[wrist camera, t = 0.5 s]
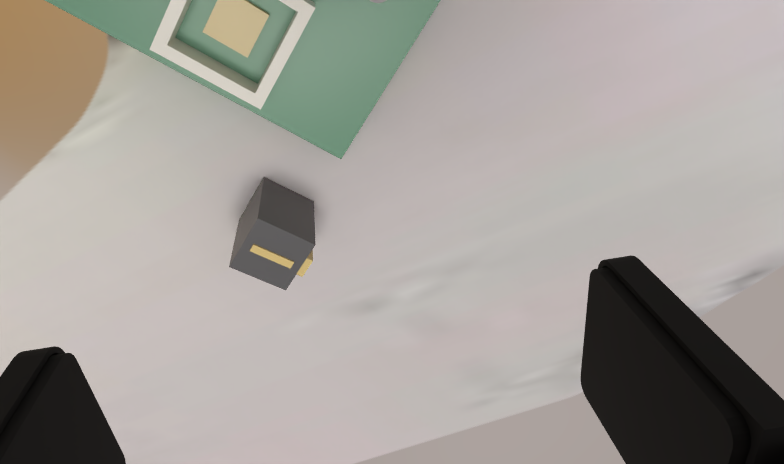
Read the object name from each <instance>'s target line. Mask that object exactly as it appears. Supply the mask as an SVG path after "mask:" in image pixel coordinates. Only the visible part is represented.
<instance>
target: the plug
mask: <svg viewBox="0 0 784 464" xmlns="http://www.w3.org/2000/svg"><path fill="white" fill-rule="evenodd" d="M314 246H315V222H314V201H312V200H310V199H308V198H306V197H304V196H302V195H300V194H298V193H296V192H294V191H292V190H290V189H288V188H286V187H283V186H281V185H279V184H277V183H275V182H273V181H271V180H269V179H267V178H265V177H264V178H263V179H262V181H261V183H260V185H259V186H258V188H257V190H256V191H255V193H254V195H253V197H252V198H251V200H250V202H249V204H248V205H247V207H246V209H245V211H244V212H243V214H242V216H241V218H240V219H239V223H238V227H237V232H236V237H235V242H234V246H233V251H232V256H231V261H230V265H229V267H231V268H233V269H236V270H238V271H240V272H243V273H245V274H248V275H250V276H253V277H255V278H257V279H260V280H262V281H265V282H267V283H269V284H272V285H274V286H277V287H279V288H282V289H284V290H286V289H287V288H288V286H289V285H290V283H291V282H292V280H293V278H294V277H295V275H296V274H297V275H299V276H302V277H303V275H304V274H305V272H306V270H307V269H308V267H309V266H310V264H311V263H312V261H313V250H312V249H313V248H314Z"/></svg>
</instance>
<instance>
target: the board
mask: <svg viewBox="0 0 784 464" xmlns="http://www.w3.org/2000/svg"><path fill="white" fill-rule="evenodd" d="M45 1H47V2H49V3H51V4H53V5H55V6H57V7H58V8H61V9H62V10H64V11H66V12H68V13H70V14H72V15H73V16H75V17H77V18H79V19H81V20H83V21H85V22H87V23H88V24H90V25H92V26H94V27H96V28H98V29H100V30H101V31H103V32H105V33H107V34H109V35H111V36H113V37H114V38H116V39H118V40H120V41H122V42H124V43H126V44H127V45H129V46H131V47H133V48H135V49H137V50H139V51H140V52H142V53H144V54H146V55H148V56H150V57H152V58H153V59H155V60H157V61H159V62H161V63H163V64H165V65H167V66H168V67H170V68H172V69H174V70H176V71H178V72H180V73H181V74H183V75H185V76H187V77H189V78H191V79H193V80H194V81H196V82H198V83H200V84H202V85H204V86H206V87H208V88H209V89H211V90H213V91H215V92H217V93H219V94H221V95H222V96H224V97H226V98H228V99H230V100H232V101H234V102H235V103H237V104H239V105H241V106H243V107H245V108H247V109H249V110H250V111H252V112H254V113H256V114H258V115H260V116H262V117H263V118H265V119H267V120H269V121H271V122H273V123H275V124H276V125H278V126H280V127H282V128H284V129H286V130H288V131H289V132H291V133H293V134H295V135H297V136H299V137H301V138H303V139H304V140H306V141H308V142H310V143H312V144H314V145H316V146H317V147H319V148H321V149H323V150H325V151H327V152H329V153H330V154H332V155H334V156H336V157H338V158H340V159H342V157H343V155H344V154H345V152H346V151H347V149H348V147H349V146H350V144H351V143H352V141H353V139H354V138H355V136H356V135H357V133H358V131H359V130H360V128H361V127H362V125H363V123H364V122H365V120H366V119H367V117H368V115H369V114H370V112H371V111H372V109H373V107H374V106H375V104H376V103H377V101H378V99H379V98H380V96H381V95H382V93H383V91H384V90H385V88H386V87H387V85H388V83H389V82H390V80H391V79H392V77H393V75H394V74H395V72H396V71H397V69H398V67H399V66H400V64H401V63H402V61H403V59H404V58H405V56H406V55H407V53H408V51H409V50H410V48H411V47H412V45H413V43H414V42H415V40H416V39H417V37H418V35H419V34H420V32H421V31H422V29H423V27H424V26H425V24H426V23H427V21H428V19H429V18H430V16H431V15H432V13H433V11H434V10H435V8H436V7H437V5H438V3H439V2H440V0H45Z"/></svg>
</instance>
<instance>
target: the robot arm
mask: <svg viewBox="0 0 784 464" xmlns="http://www.w3.org/2000/svg"><path fill="white" fill-rule="evenodd" d="M581 385H582V389H583V392H584V394H585V396H586V398H587V400H588V401H589V403H590V405H591V406H592V408H593V410H594V411H595V413H596V415H597V416H598V418H599V420H600V421H601V423H602V425H603V426H604V428H605V430H606V431H607V433H608V435H609V436H610V438H611V440H612V441H613V443H614V445H615V446H616V448H617V450H618V451H619V453H620V455H621V456H622V458H623V460H624V461H625V463H626V464H784V400H783V399H782V398H781V397H780V396H779V395H778V394H777V393H776V392H775V391H774V390H773V389H772V388H771V387H770V386H769V385H768V384H766V383H765V381H763V380H762V379H761V378H760V377H759V376H758V375H757V374H756V373H755V372H754V371H753V370H752V369H751V368H750V367H749V366H748V365H747V364H746V363H745V362H744V361H743V360H742V359H741V358H740V357H739V356H738V355H737V354H735V352H734V351H733V350H731V348H730V347H729V346H728V345H726V344H725V343H724V342H723V341H722V340H721V339H720V338H719V337H718V336H717V335H716V334H715V333H714V332H713V331H712V330H711V329H710V328H709V327H708V326H707V325H706V324H705V323H704V322H703V321H702V320H701V319H700V318H699V317H698V316H697V315H696V314H695V313H694V312H693V311H692V310H691V309H689V308H688V307H687V306H686V305H685V304H684V303H683V302H682V301H681V300H680V299H679V298H678V297H677V296H676V295H675V294H674V293H673V292H672V291H671V290H670V289H669V288H668V287H667V286H666V285H665V284H664V283H663V282H662V281H661V280H660V279H659V278H658V277H657V276H656V275H655V274H653V273H652V272H651V271H650V270H649V269H648V268H647V267H646V266H645V265H644V264H643V263H642V262H641V261H640V260H639V259H638V258H636V257H635V256H626V257H619V258H613V259H607V260H603V261H601V262H600V264H599V266H598V269H594V270H592V271H591V273H590V280H589V291H588V302H587V313H586V324H585V335H584V346H583V356H582V367H581ZM0 464H126V463H125V458H124V455H123V453H122V451H121V449H120V447H119V445H118V443H117V441H116V439H115V436H114V434H113V432H112V430H111V428H110V426H109V424H108V422H107V420H106V418H105V416H104V414H103V412H102V410H101V408H100V406H99V404H98V402H97V400H96V398H95V396H94V394H93V392H92V390H91V388H90V386H89V384H88V382H87V380H86V378H85V376H84V374H83V372H82V370H81V368H80V366H79V364H78V362H77V360H76V358H75V357H74V355H72V354H71V353H65V352H64V351H63V350H62V349H61V348H59V347H48V348H42V349H36V350H29V351H23V352H20V353H18V354H17V355H16V356H15V357H14V358H13V360H12V361H11V362H10V364H9V365H8V367H7V368H6V369H5V371H4V372H3V374H2V375H1V377H0Z"/></svg>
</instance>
